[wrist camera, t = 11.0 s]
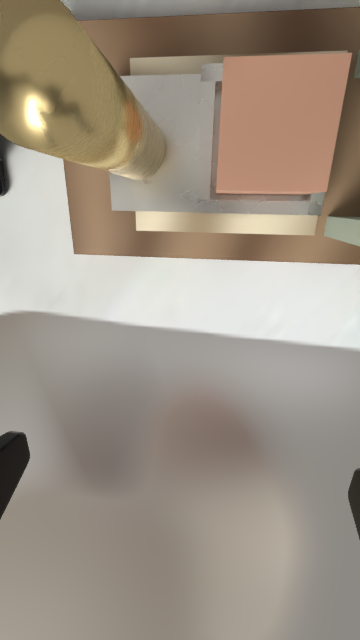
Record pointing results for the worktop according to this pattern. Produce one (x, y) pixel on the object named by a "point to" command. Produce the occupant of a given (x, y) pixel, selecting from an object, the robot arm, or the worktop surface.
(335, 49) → the track board
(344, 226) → the tunnel
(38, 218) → the worktop surface
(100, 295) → the worktop surface
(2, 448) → the robot arm
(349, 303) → the worktop surface
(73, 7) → the worktop surface
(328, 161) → the terracotta block
